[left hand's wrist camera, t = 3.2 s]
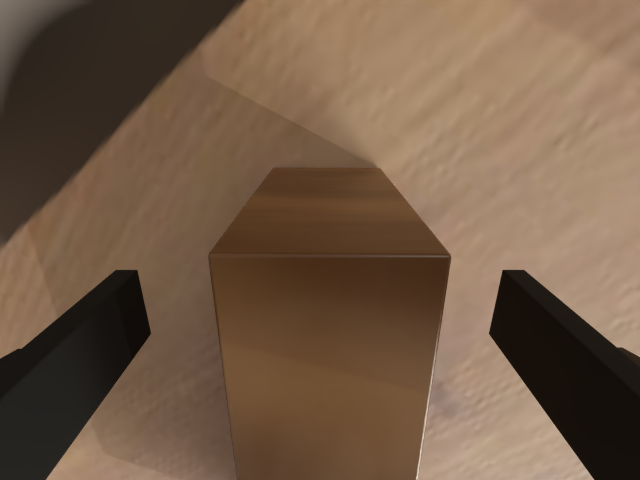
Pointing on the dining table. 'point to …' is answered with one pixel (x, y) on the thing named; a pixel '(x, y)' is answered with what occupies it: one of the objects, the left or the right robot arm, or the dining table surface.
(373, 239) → the bar
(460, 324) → the dining table surface
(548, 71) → the dining table surface
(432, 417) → the dining table surface
